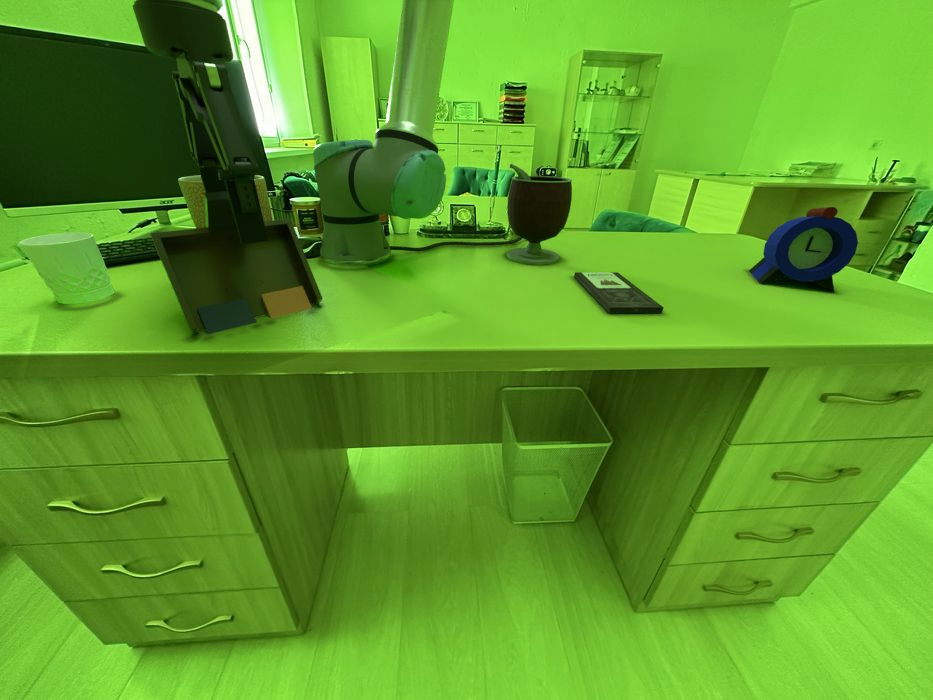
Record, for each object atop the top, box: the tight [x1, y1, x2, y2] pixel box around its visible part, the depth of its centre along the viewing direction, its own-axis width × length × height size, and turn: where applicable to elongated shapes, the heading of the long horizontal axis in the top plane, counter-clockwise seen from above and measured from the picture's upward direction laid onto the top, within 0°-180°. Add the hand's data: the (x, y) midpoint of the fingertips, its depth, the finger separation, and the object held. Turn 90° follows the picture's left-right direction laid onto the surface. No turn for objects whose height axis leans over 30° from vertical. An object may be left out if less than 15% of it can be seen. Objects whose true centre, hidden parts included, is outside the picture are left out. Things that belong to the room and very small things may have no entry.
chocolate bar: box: [573, 271, 664, 314], centre depth 68 cm, size 9×1×18 cm
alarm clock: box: [748, 206, 859, 293], centre depth 73 cm, size 12×12×15 cm
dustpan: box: [150, 191, 323, 335], centre depth 50 cm, size 17×13×12 cm
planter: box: [177, 174, 274, 228], centre depth 88 cm, size 17×17×15 cm
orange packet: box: [261, 286, 313, 320], centre depth 56 cm, size 6×4×1 cm
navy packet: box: [197, 298, 257, 335], centre depth 51 cm, size 6×4×1 cm
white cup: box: [18, 231, 116, 305], centre depth 57 cm, size 8×8×10 cm
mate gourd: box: [506, 163, 573, 266], centre depth 83 cm, size 16×14×20 cm
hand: (239, 230), depth 47 cm, fingers open, 13 cm apart
